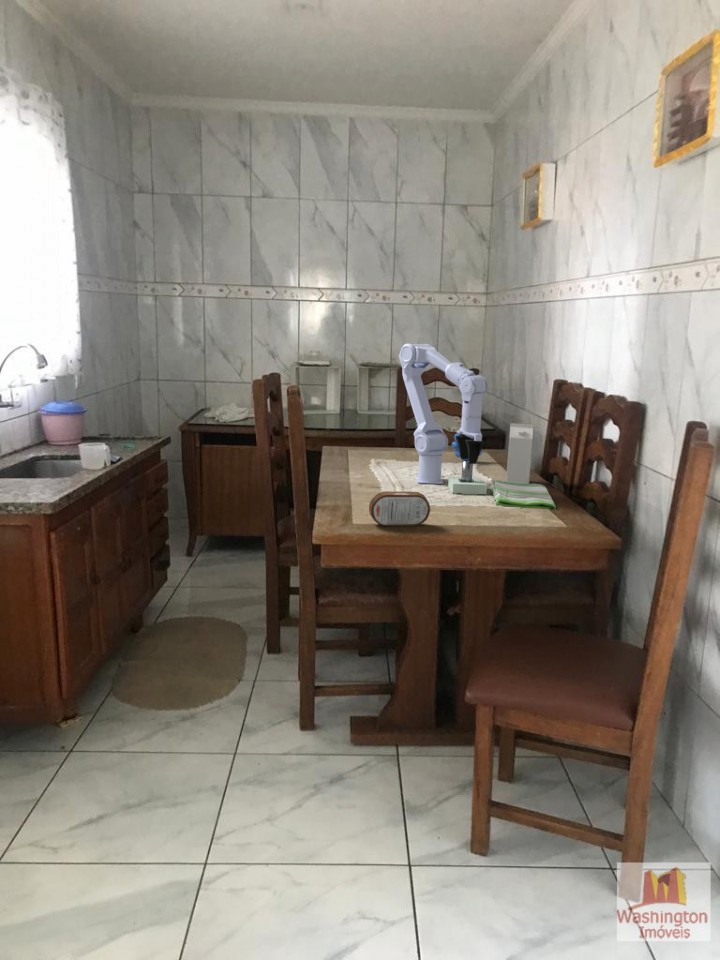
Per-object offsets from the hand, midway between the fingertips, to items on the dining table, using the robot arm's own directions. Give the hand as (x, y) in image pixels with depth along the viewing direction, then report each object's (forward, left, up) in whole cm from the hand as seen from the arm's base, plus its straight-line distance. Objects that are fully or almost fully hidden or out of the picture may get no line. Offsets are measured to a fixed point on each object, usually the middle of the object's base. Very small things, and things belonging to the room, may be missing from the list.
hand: (468, 461), depth 219 cm
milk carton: (-15, +19, -9) cm, 26 cm away
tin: (+42, -24, -9) cm, 49 cm away
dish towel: (+8, +15, -10) cm, 20 cm away
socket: (0, 0, -9) cm, 9 cm away
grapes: (-48, +8, -9) cm, 50 cm away
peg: (0, 0, -9) cm, 9 cm away
